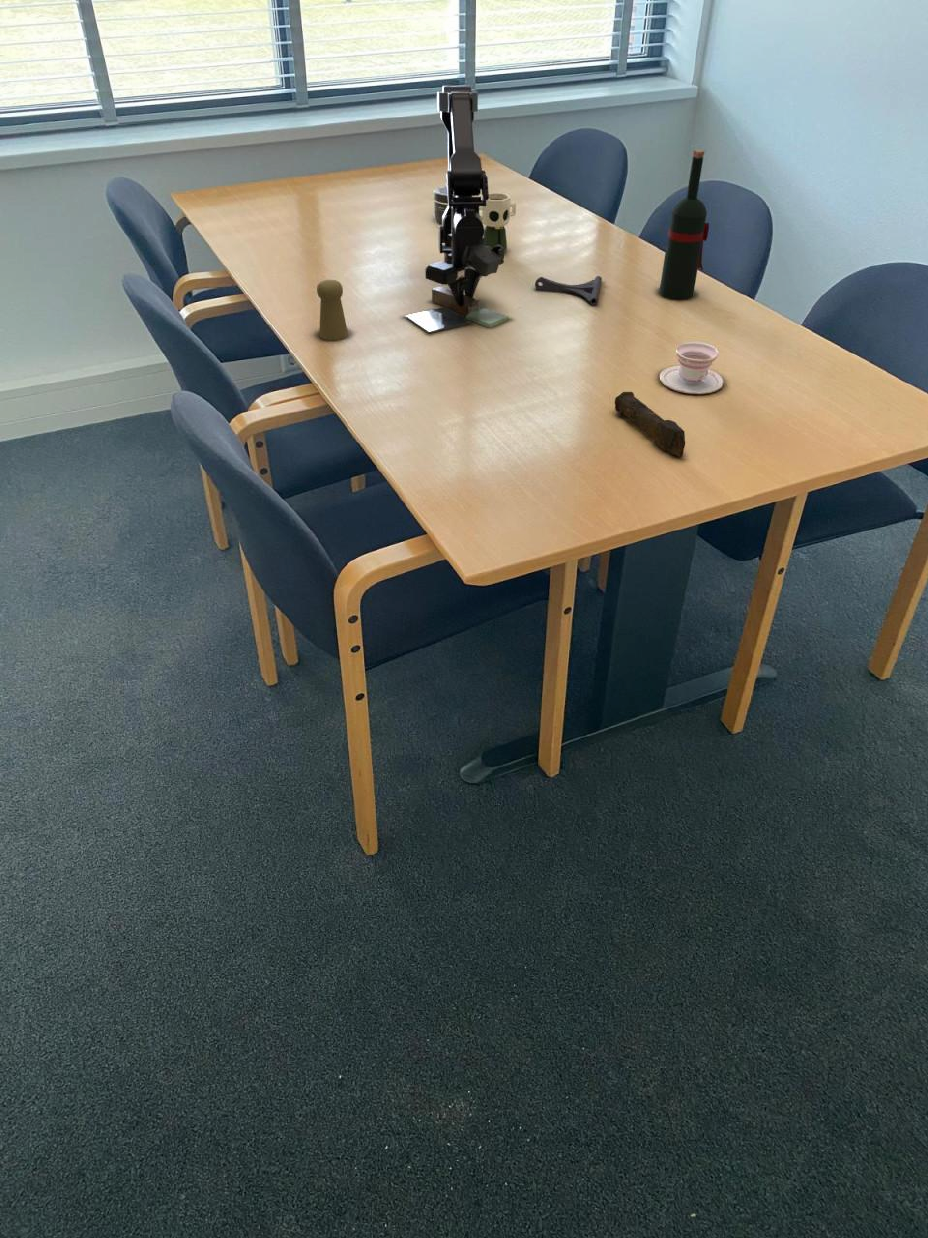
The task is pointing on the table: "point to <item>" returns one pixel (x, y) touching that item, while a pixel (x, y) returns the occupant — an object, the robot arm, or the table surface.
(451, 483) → the table surface
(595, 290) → the bracket
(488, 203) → the character mug
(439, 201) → the jar
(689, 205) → the wine bottle
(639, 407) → the dark brown long bar
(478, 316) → the spatula
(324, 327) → the olive brown pawn
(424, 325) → the plate
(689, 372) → the teacup
